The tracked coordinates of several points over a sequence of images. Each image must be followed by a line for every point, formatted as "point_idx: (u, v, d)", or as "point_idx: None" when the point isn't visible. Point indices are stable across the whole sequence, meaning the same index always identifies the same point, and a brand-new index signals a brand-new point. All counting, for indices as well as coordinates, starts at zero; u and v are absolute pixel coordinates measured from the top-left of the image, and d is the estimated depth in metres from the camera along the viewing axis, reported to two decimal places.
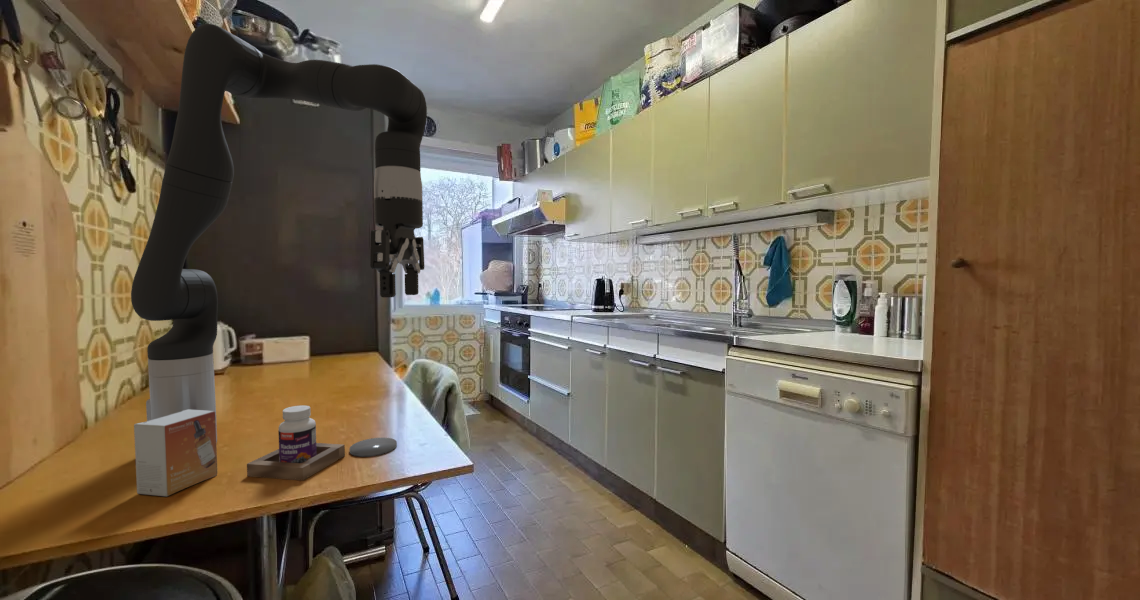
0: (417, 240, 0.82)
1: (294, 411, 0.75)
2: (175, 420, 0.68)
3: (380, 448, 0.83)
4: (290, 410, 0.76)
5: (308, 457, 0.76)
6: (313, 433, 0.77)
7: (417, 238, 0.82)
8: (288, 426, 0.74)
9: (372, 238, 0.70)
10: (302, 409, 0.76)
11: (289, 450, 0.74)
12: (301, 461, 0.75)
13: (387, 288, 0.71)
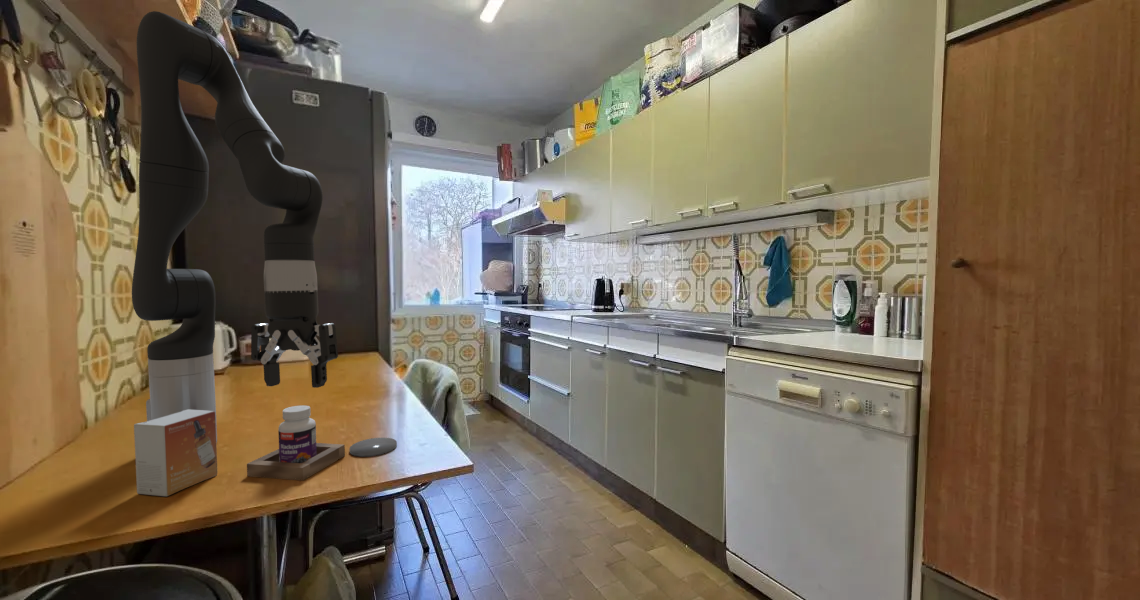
0: None
1: (294, 411, 0.75)
2: (175, 420, 0.68)
3: (380, 448, 0.83)
4: (290, 410, 0.76)
5: (308, 457, 0.76)
6: (313, 433, 0.77)
7: (266, 325, 0.77)
8: (288, 426, 0.74)
9: (326, 332, 0.74)
10: (302, 409, 0.76)
11: (289, 450, 0.74)
12: (301, 461, 0.75)
13: (326, 377, 0.76)
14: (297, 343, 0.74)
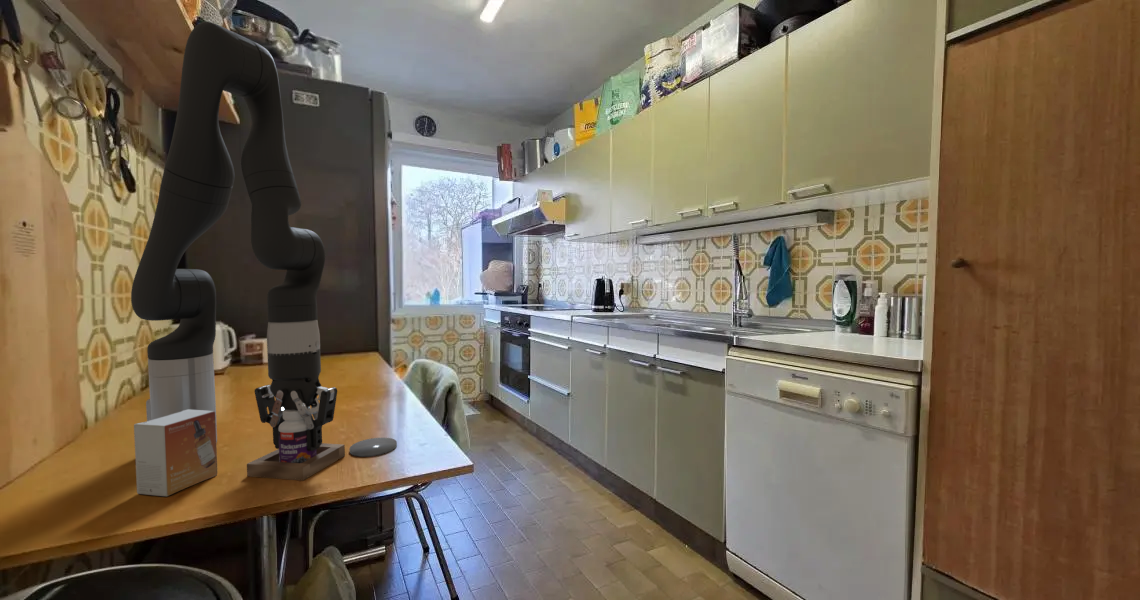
0: None
1: (294, 411, 0.75)
2: (175, 420, 0.68)
3: (380, 448, 0.83)
4: (290, 410, 0.76)
5: (308, 457, 0.76)
6: None
7: None
8: (288, 426, 0.74)
9: (327, 399, 0.74)
10: None
11: (289, 450, 0.74)
12: (301, 461, 0.75)
13: (321, 440, 0.77)
14: (297, 405, 0.75)
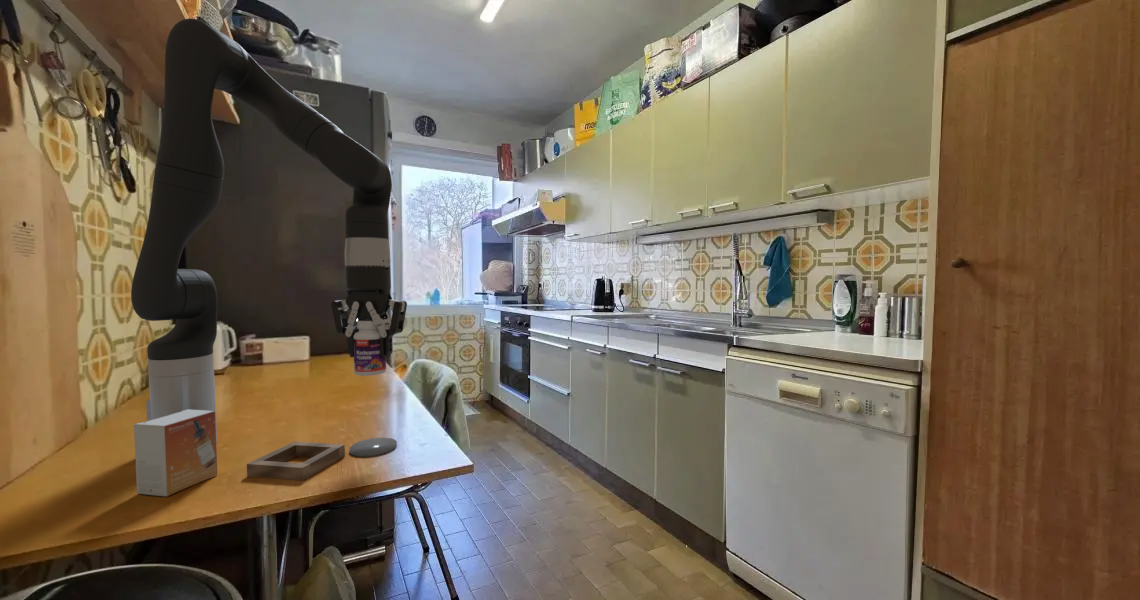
0: None
1: (368, 321, 0.82)
2: (175, 420, 0.68)
3: (380, 448, 0.83)
4: (364, 320, 0.82)
5: (380, 364, 0.83)
6: None
7: None
8: (363, 334, 0.81)
9: (399, 309, 0.81)
10: None
11: (364, 356, 0.81)
12: (374, 367, 0.82)
13: (392, 349, 0.83)
14: (371, 315, 0.81)
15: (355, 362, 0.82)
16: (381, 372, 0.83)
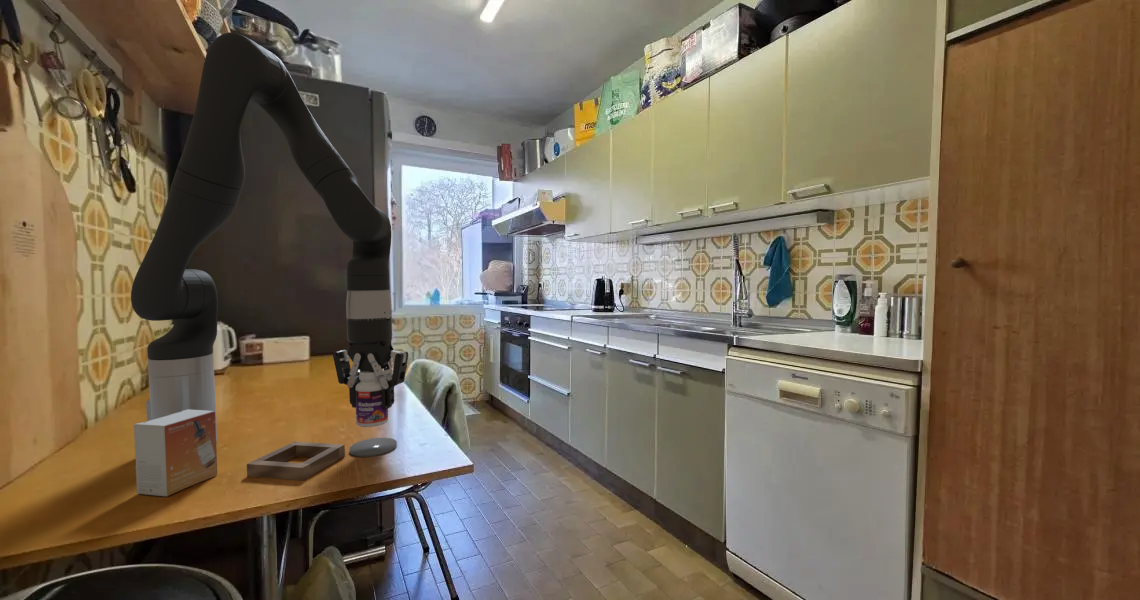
0: None
1: (370, 372, 0.82)
2: (175, 420, 0.68)
3: (380, 448, 0.83)
4: (366, 372, 0.83)
5: (382, 415, 0.83)
6: None
7: None
8: (365, 385, 0.82)
9: (401, 361, 0.82)
10: None
11: (366, 408, 0.81)
12: (376, 418, 0.82)
13: (393, 399, 0.84)
14: (373, 366, 0.82)
15: (357, 413, 0.82)
16: (383, 423, 0.83)
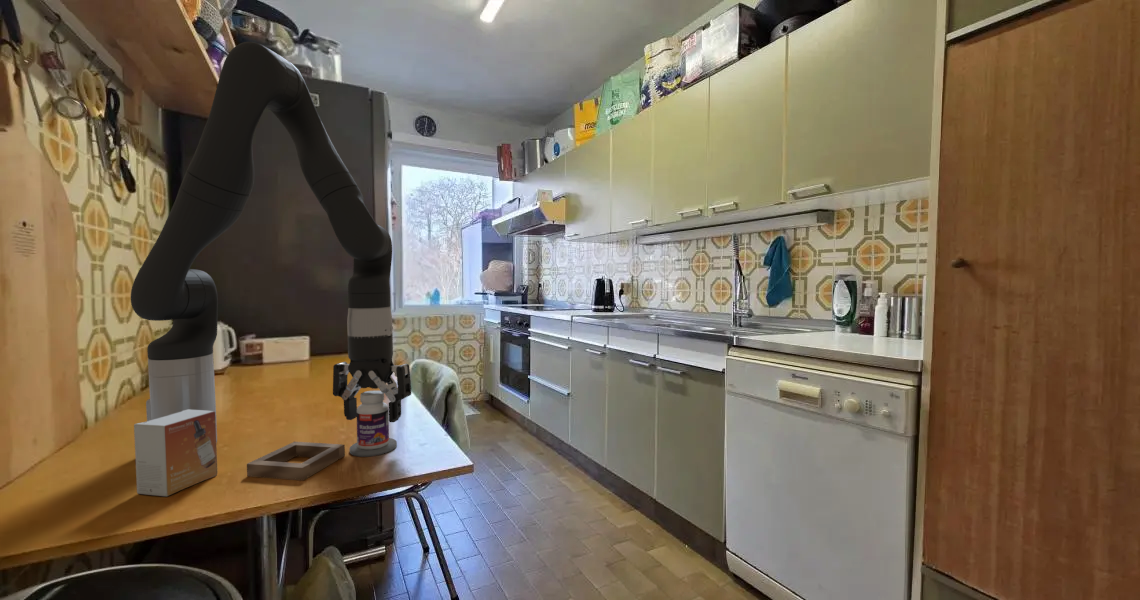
0: None
1: (371, 395, 0.83)
2: (175, 420, 0.68)
3: (380, 448, 0.83)
4: (367, 394, 0.83)
5: (383, 437, 0.83)
6: (387, 415, 0.84)
7: (345, 364, 0.85)
8: (366, 408, 0.82)
9: (403, 373, 0.82)
10: (377, 393, 0.84)
11: (367, 431, 0.82)
12: (377, 440, 0.82)
13: (400, 412, 0.84)
14: (376, 383, 0.82)
15: (358, 436, 0.82)
16: (384, 445, 0.84)
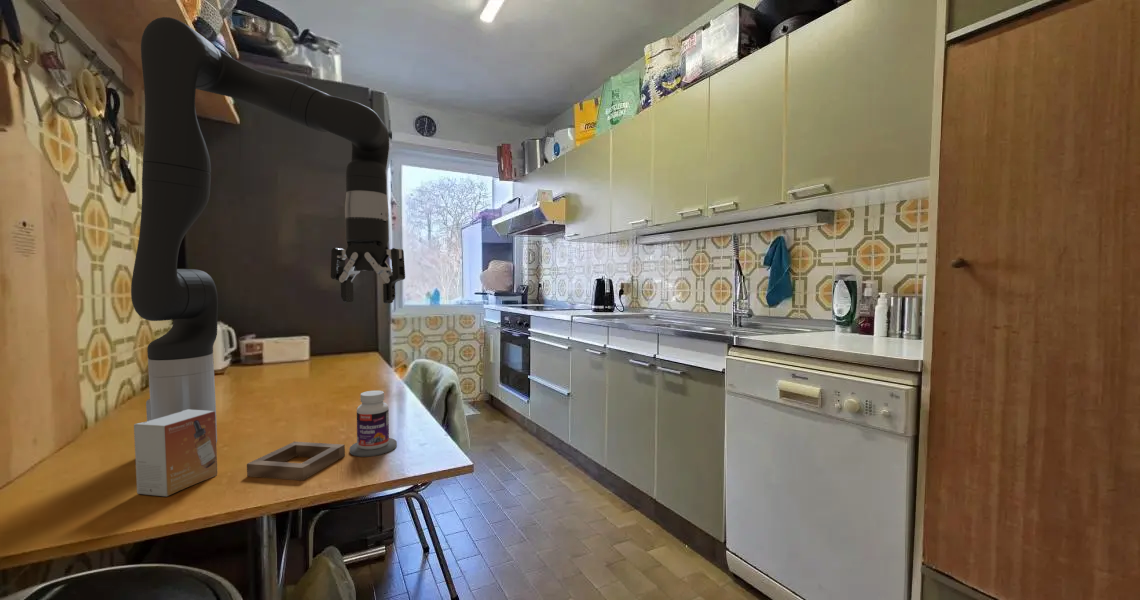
0: None
1: (371, 395, 0.83)
2: (175, 420, 0.68)
3: (380, 448, 0.83)
4: (367, 394, 0.83)
5: (383, 437, 0.83)
6: (387, 415, 0.84)
7: None
8: (366, 408, 0.82)
9: (397, 255, 0.86)
10: (378, 393, 0.84)
11: (367, 431, 0.82)
12: (378, 440, 0.82)
13: (394, 295, 0.88)
14: (371, 264, 0.86)
15: (358, 436, 0.82)
16: (384, 445, 0.84)
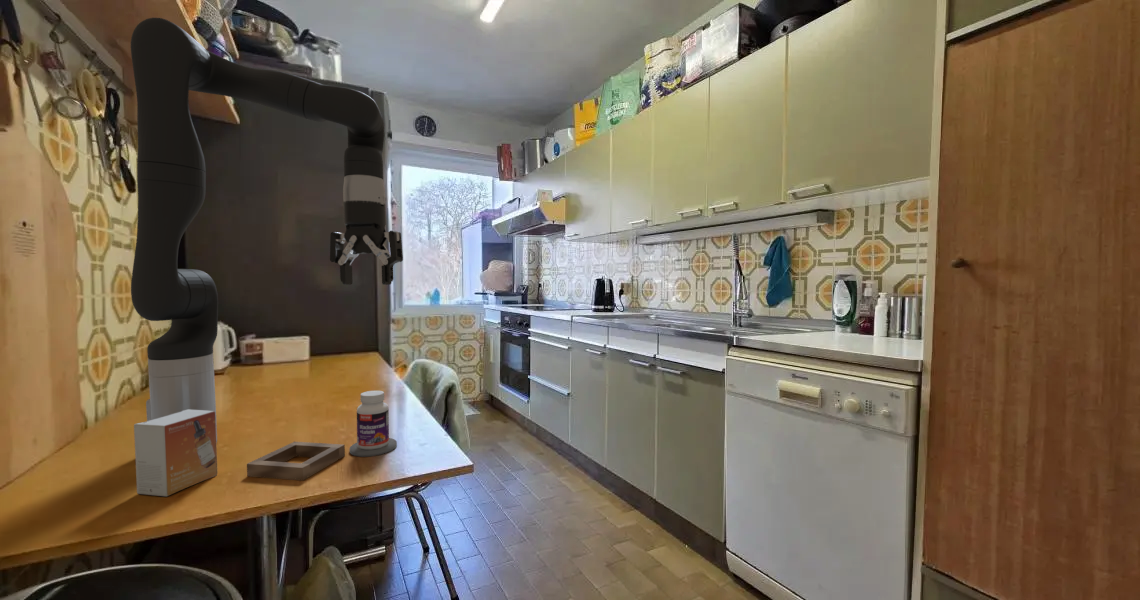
0: None
1: (371, 395, 0.83)
2: (175, 420, 0.68)
3: (380, 448, 0.83)
4: (367, 394, 0.83)
5: (383, 437, 0.83)
6: (387, 415, 0.84)
7: None
8: (367, 408, 0.82)
9: (395, 237, 0.88)
10: (378, 393, 0.84)
11: (367, 431, 0.82)
12: (378, 440, 0.82)
13: (392, 277, 0.90)
14: (370, 246, 0.88)
15: (358, 436, 0.82)
16: (384, 445, 0.84)
